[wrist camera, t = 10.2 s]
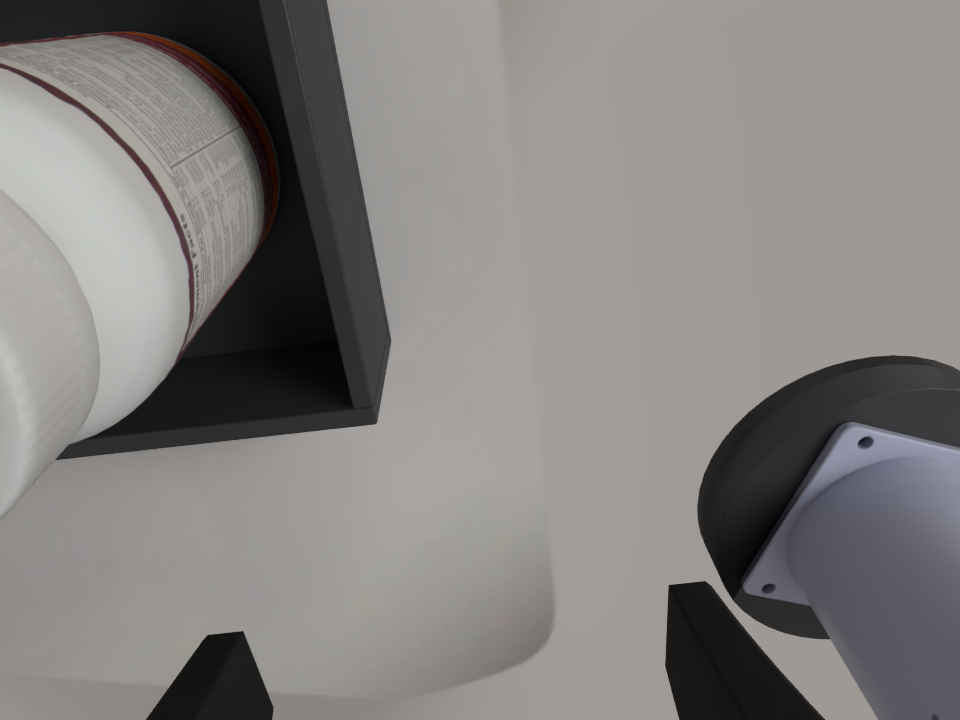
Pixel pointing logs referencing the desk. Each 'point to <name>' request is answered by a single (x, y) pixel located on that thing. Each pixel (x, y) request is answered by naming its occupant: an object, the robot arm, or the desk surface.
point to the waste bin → (285, 251)
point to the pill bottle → (114, 228)
